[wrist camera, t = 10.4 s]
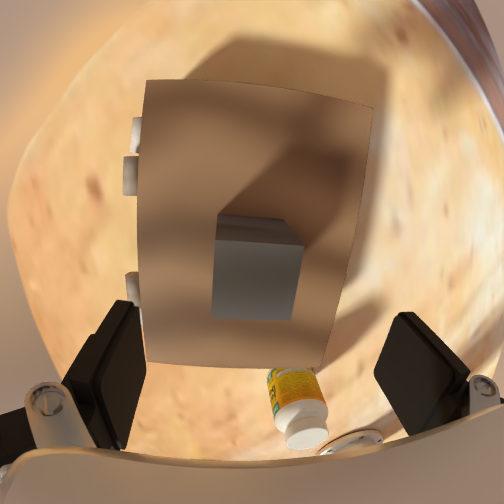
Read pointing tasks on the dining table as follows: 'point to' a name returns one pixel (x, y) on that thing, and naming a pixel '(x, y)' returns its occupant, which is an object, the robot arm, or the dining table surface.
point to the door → (243, 221)
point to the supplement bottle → (298, 406)
